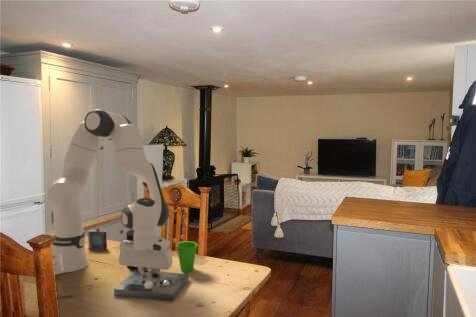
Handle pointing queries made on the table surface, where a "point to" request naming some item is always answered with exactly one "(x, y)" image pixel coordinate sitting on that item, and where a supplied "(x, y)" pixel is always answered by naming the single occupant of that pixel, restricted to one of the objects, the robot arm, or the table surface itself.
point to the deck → (136, 289)
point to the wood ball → (155, 271)
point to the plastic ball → (148, 284)
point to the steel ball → (166, 282)
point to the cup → (186, 255)
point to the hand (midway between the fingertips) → (145, 277)
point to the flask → (97, 239)
